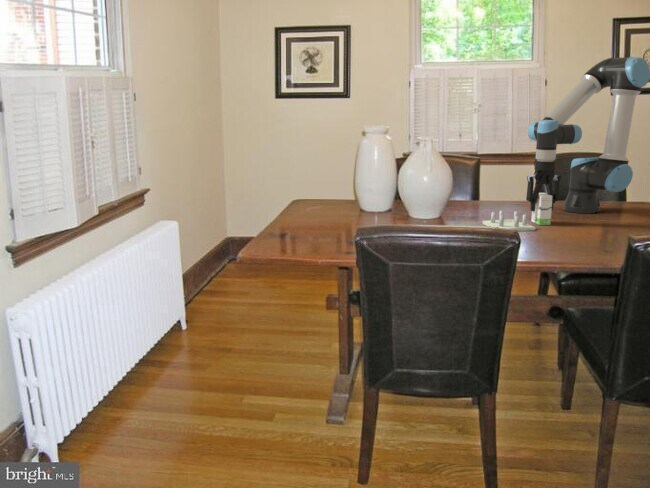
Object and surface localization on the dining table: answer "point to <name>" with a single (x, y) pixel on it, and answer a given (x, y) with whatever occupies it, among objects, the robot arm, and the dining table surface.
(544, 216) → the ink box
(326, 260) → the dining table surface
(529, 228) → the pin tray
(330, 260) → the dining table surface
